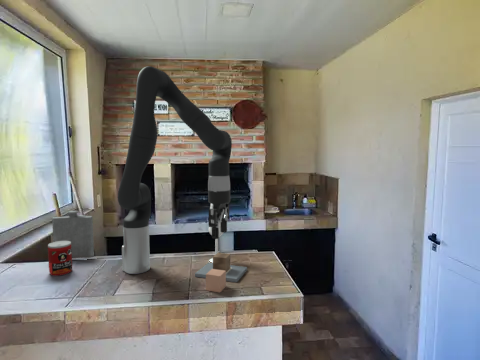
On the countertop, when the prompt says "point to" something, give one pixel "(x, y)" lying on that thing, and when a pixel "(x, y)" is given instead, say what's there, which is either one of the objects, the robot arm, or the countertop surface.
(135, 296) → the countertop surface
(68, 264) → the canned food
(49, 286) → the countertop surface
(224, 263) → the walnut block
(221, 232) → the champagne flute
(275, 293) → the countertop surface
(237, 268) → the slate board
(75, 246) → the hip flask
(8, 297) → the countertop surface
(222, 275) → the terracotta block
